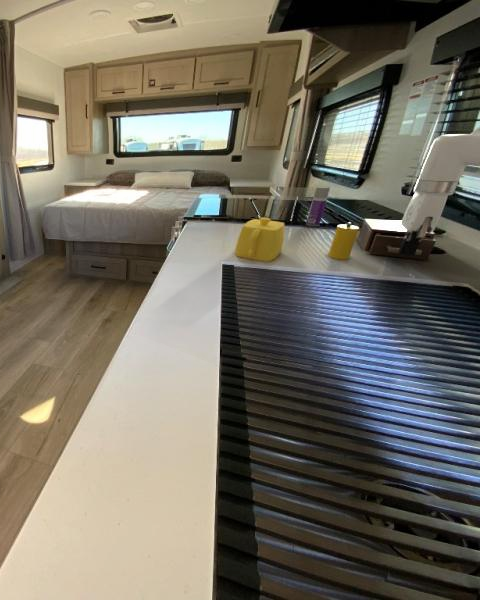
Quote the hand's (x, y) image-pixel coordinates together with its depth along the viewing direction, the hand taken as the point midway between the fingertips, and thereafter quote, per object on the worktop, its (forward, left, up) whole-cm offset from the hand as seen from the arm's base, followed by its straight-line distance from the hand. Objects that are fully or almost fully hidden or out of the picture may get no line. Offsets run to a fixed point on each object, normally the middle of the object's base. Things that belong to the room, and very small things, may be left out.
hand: (406, 253), depth 94 cm
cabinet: (0, -17, -4) cm, 18 cm away
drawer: (0, -10, -3) cm, 10 cm away
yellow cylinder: (+15, 0, -4) cm, 15 cm away
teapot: (+37, +4, -4) cm, 37 cm away
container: (+20, -42, -4) cm, 47 cm away
